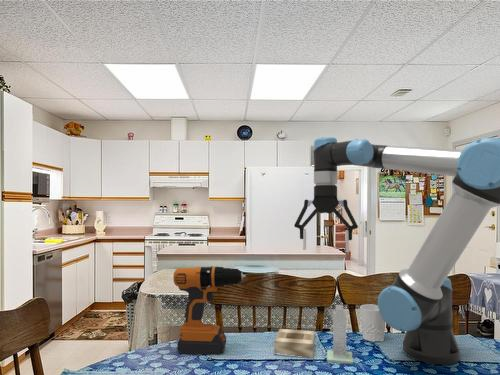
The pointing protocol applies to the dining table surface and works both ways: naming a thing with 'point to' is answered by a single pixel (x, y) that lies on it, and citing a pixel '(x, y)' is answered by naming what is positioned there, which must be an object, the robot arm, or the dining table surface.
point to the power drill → (202, 307)
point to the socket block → (295, 342)
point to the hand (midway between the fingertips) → (325, 249)
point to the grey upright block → (339, 333)
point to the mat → (339, 360)
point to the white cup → (372, 323)
